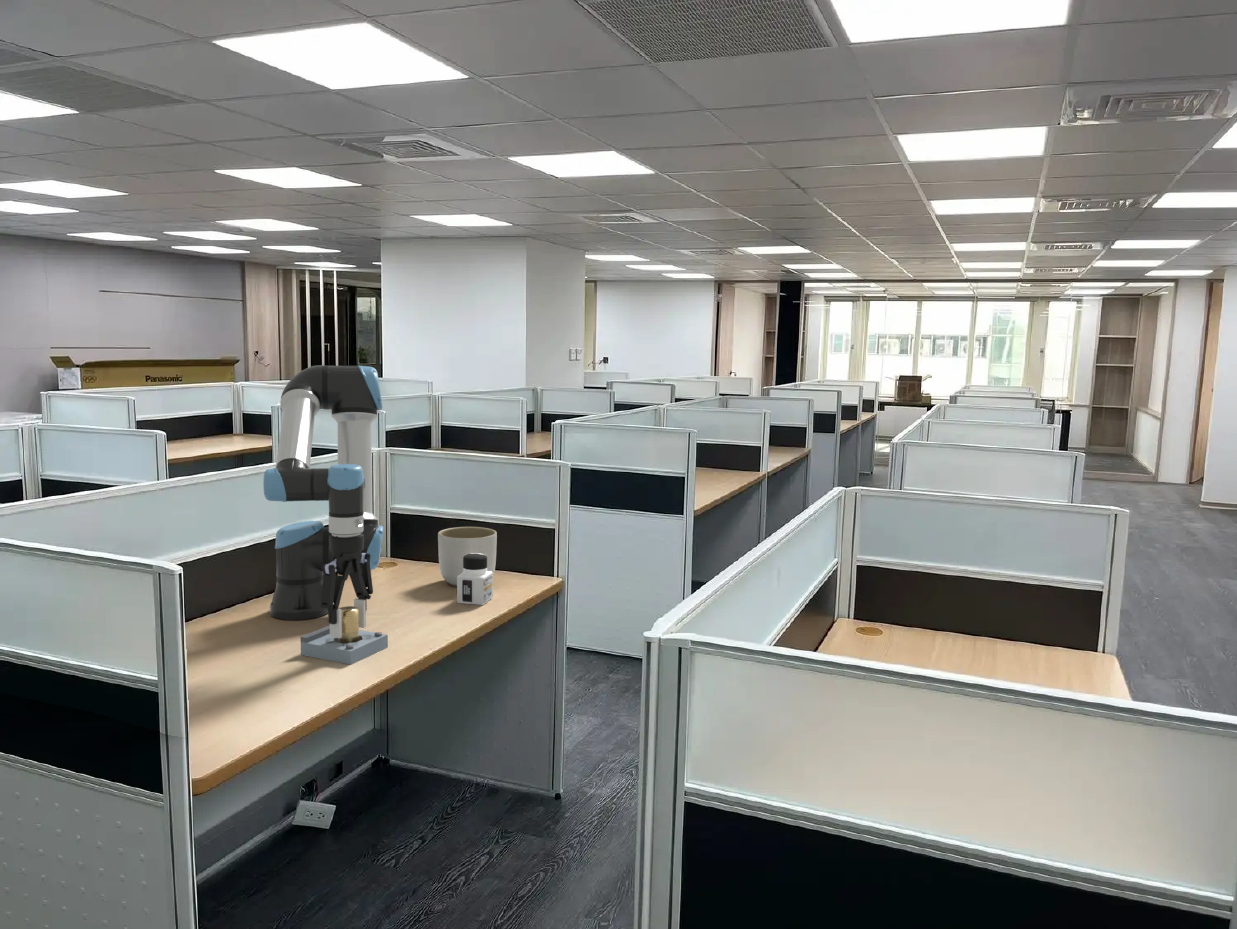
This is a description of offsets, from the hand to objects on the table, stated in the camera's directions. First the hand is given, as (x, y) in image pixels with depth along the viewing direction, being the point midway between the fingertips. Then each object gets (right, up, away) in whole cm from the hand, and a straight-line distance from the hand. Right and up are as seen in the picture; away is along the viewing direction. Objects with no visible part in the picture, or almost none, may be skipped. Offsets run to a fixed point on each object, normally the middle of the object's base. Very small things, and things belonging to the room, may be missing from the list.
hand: (348, 631), depth 210 cm
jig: (-1, -5, +1) cm, 5 cm away
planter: (+17, +3, +62) cm, 65 cm away
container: (+22, 0, +44) cm, 49 cm away
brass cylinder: (0, -5, +1) cm, 5 cm away
